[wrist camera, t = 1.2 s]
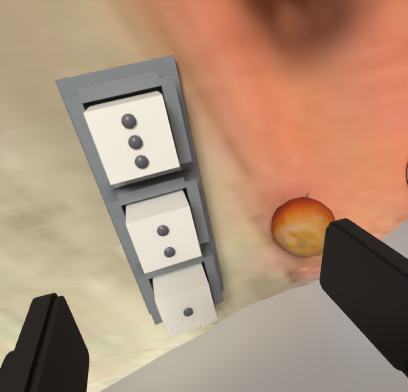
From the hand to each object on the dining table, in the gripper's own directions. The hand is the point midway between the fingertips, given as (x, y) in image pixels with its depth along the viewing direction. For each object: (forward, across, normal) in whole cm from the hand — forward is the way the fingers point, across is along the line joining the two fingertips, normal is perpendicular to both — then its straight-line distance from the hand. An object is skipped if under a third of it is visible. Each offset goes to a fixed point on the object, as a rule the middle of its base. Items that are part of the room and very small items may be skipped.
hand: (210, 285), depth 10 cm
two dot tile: (+19, 0, +8) cm, 21 cm away
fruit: (+23, -17, +14) cm, 32 cm away
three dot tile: (+20, +1, -2) cm, 20 cm away
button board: (+23, 0, +8) cm, 25 cm away
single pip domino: (+19, 0, +18) cm, 27 cm away
